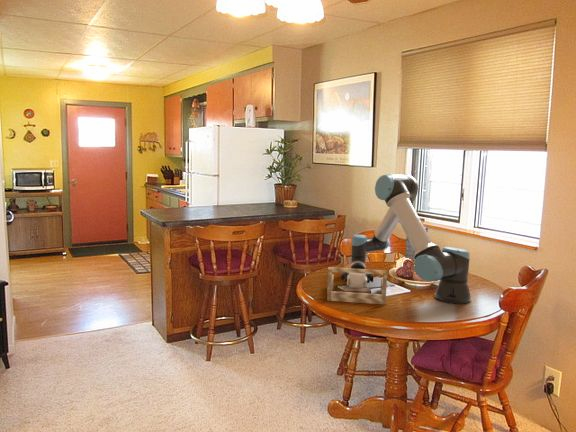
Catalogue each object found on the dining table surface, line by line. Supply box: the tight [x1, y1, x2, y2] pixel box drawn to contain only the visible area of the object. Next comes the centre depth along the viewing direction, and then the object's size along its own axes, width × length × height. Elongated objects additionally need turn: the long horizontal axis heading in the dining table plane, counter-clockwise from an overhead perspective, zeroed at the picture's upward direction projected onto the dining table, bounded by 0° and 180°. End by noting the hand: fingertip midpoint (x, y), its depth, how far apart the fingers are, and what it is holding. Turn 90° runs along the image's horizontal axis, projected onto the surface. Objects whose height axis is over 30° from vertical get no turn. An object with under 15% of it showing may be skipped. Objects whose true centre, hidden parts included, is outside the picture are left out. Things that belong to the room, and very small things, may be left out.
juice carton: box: [404, 226, 429, 260], centre depth 259 cm, size 12×8×24 cm, turn 146°
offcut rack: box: [326, 266, 388, 305], centre depth 216 cm, size 25×21×15 cm
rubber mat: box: [365, 276, 395, 289], centre depth 237 cm, size 15×15×1 cm
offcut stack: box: [339, 286, 373, 294], centre depth 212 cm, size 14×6×5 cm, turn 90°
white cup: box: [348, 273, 366, 288], centre depth 219 cm, size 8×8×10 cm
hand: (356, 282), depth 216 cm, fingers closed on white cup, 8 cm apart
